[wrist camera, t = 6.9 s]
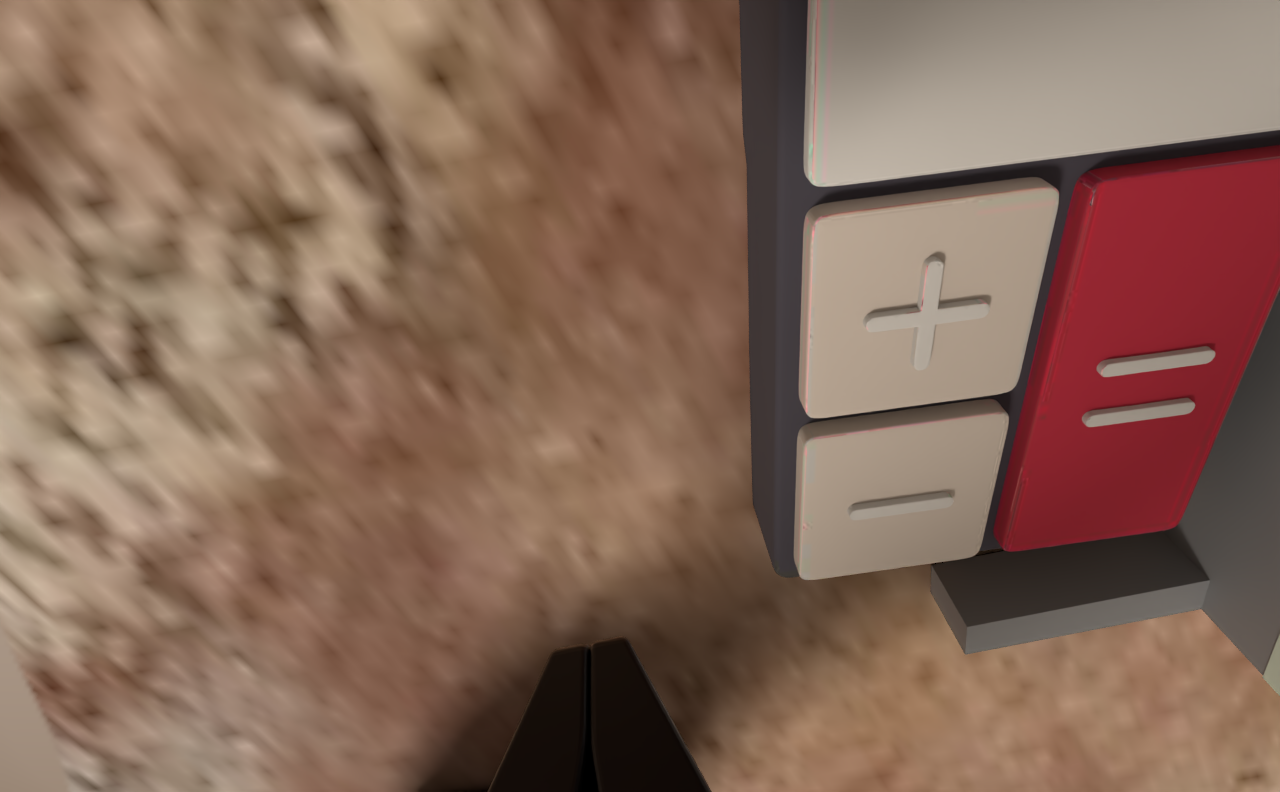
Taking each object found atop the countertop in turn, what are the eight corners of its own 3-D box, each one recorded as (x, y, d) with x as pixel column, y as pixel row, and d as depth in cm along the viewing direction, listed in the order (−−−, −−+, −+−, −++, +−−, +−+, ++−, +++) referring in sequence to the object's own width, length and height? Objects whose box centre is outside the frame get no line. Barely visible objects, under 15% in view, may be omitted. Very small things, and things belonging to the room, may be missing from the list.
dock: (1226, 534, 25) (1379, 677, 20) (930, 591, 25) (1015, 746, 20) (1640, -813, 11) (2425, -1335, 6) (974, -666, 11) (1272, -1075, 7)
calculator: (781, 605, 20) (792, -72, 11) (745, 493, 24) (734, -90, 15) (1197, 547, 20) (1516, -157, 12) (1101, 444, 24) (1292, -155, 15)
